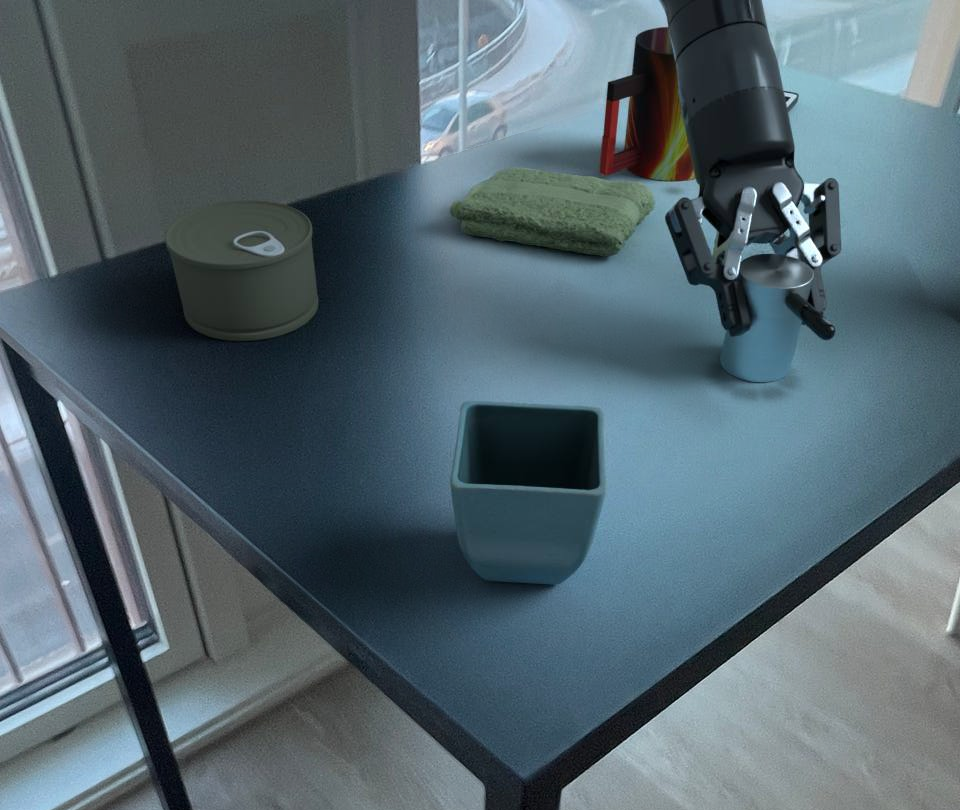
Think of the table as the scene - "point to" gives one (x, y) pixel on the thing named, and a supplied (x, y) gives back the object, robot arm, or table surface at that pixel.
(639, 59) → the mug
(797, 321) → the metal cylinder with handle
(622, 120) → the table surface
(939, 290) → the table surface
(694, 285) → the robot arm
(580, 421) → the flower pot
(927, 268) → the table surface
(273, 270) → the can
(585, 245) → the washcloth
